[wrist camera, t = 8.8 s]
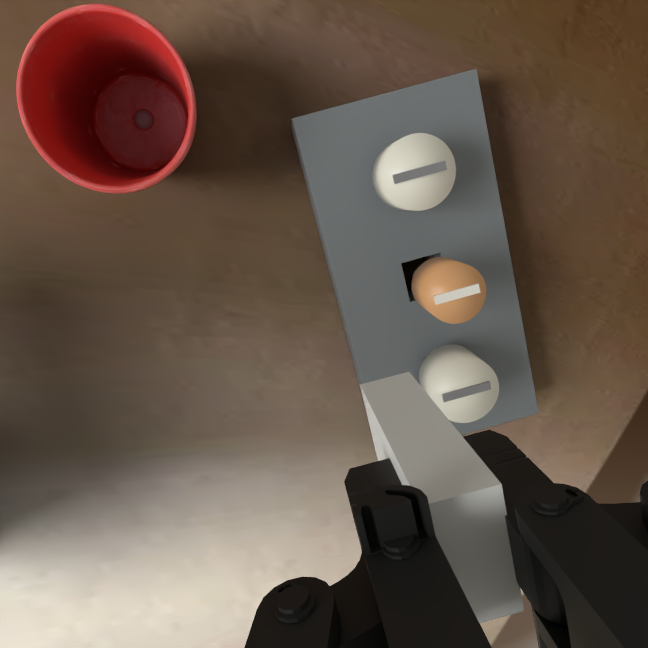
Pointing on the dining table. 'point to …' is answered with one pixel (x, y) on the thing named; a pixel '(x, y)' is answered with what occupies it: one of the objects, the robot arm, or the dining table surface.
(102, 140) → the flower pot
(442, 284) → the pot knob
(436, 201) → the knob
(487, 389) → the knob
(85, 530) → the dining table surface
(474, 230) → the control box
